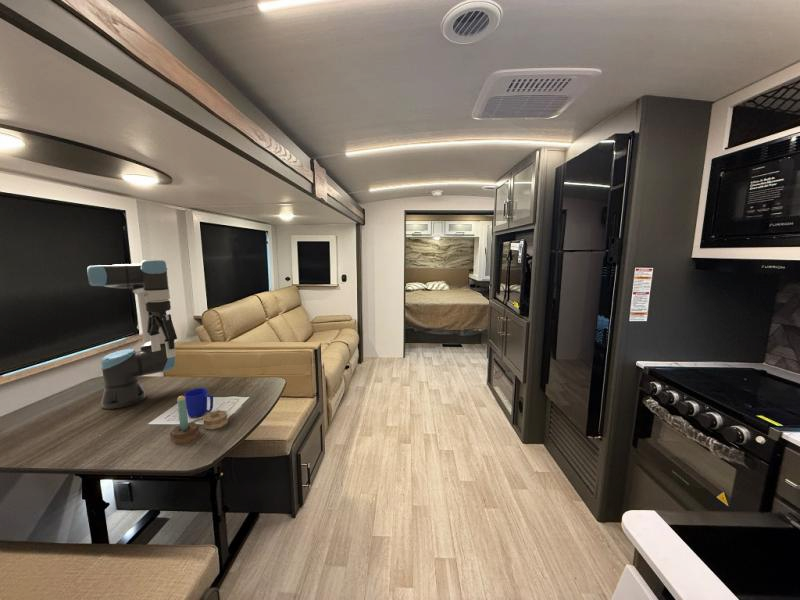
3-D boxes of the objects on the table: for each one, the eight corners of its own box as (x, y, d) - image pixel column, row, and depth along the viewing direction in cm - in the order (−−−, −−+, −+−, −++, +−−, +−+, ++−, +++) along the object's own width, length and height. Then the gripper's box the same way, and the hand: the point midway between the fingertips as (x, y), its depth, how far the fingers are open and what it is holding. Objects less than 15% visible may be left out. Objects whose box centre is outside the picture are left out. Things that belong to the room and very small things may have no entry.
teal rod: (180, 437, 115) (175, 396, 113) (187, 434, 117) (183, 393, 115) (183, 439, 114) (178, 398, 111) (190, 436, 116) (186, 395, 113)
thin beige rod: (174, 429, 120) (174, 428, 120) (173, 429, 121) (173, 427, 120) (213, 414, 132) (213, 412, 132) (212, 413, 133) (212, 411, 132)
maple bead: (199, 428, 121) (198, 419, 121) (214, 417, 129) (213, 409, 129) (217, 430, 120) (216, 421, 120) (231, 419, 128) (231, 411, 127)
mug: (206, 421, 126) (203, 398, 125) (181, 418, 129) (178, 395, 127) (221, 411, 134) (219, 389, 133) (197, 408, 137) (195, 387, 135)
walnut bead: (168, 438, 114) (167, 430, 114) (191, 428, 121) (191, 420, 120) (178, 446, 110) (177, 436, 110) (202, 435, 117) (201, 426, 116)
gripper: (133, 299, 122) (139, 350, 126) (160, 305, 109) (166, 362, 112) (155, 296, 129) (161, 346, 132) (184, 302, 115) (189, 357, 119)
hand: (163, 353), depth 122 cm, fingers open, 13 cm apart
